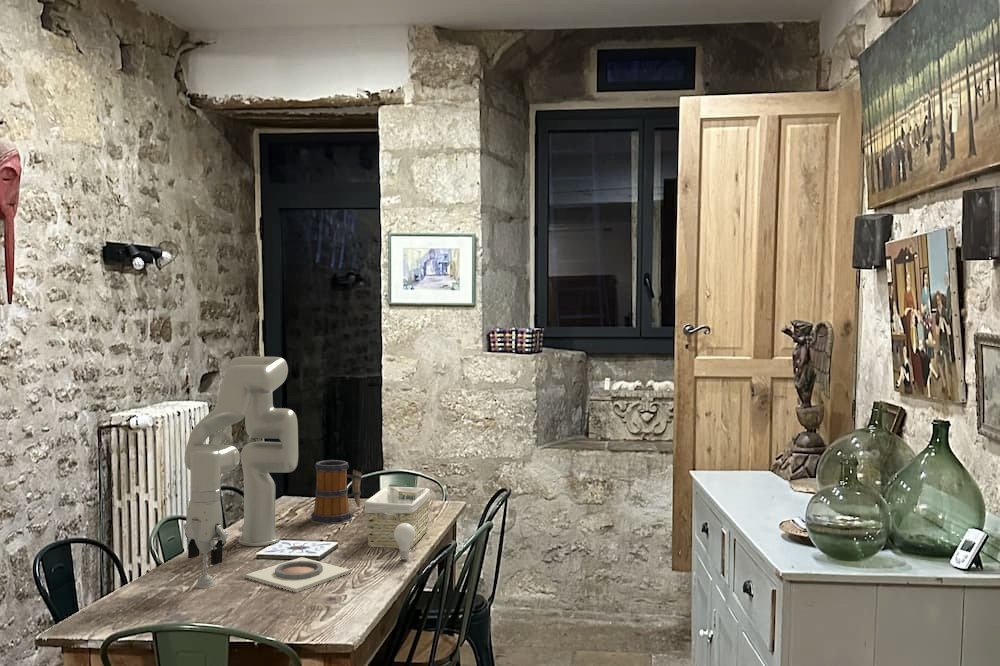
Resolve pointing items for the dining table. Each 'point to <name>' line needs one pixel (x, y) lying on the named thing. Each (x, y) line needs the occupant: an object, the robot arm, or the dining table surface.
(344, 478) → the mug
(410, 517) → the storage basket
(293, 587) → the seat board
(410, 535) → the lightbulb
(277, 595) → the dining table surface
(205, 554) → the chalice
